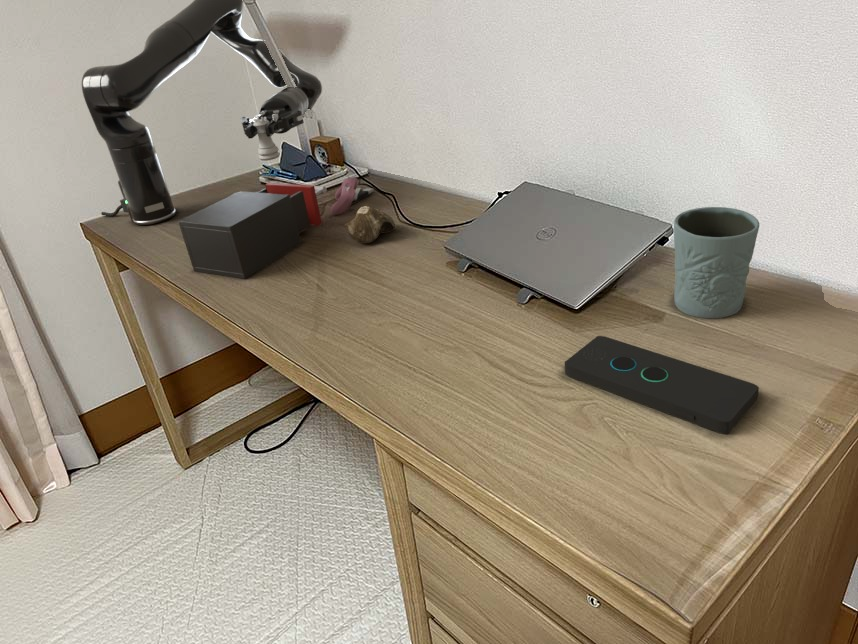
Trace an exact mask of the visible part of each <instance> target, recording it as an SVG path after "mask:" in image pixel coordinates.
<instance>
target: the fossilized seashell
mask: <svg viewBox="0 0 858 644" xmlns="http://www.w3.org/2000/svg"><path fill="white" fill-rule="evenodd" d="M396 226H397V225H396V222H395V221H394V218H393V217H392V216H391V215H389V214H387V213H385V212H384V211H381V209H380V208H379V207H376V208H374V207H371V206H369V205H365V206H361V207H360V208H358V210H357V212H356V214H355V217H354V218H353V219H352V220H350V221H348V222H347V223H345V224H344V228H346V230H347V232H348V234H349V236H350V237H351V238H352V239H353V240H354V241H356V242H358V243H361V244H370V243H372V242H374V241H375V240H376V239H377V238H378V237H379V235H380V234H385V233H390V232H393V231H394V230H395V229H396Z"/></svg>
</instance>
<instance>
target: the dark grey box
mask: <svg viewBox="0 0 858 644" xmlns="http://www.w3.org/2000/svg"><path fill="white" fill-rule="evenodd" d="M257 192H258V191H255V192H254V191H243V190H242V191H241V190H238V191H236V192H234V193H233V194H231V195H229V196H226V197H224V198H223V199H220V200H218V201H217V202H215V203H212V204H211V205H209V206H206V207H204V208H202V209H200V210H198V211H196V212H195V213H192V214H190V215H188V216H186V217H184V218H182V219H180V220H178V221H177V223H178V226H179V229H180V232H181V235H182V238H183V242H184V245H185V248H186V251H187V254H188V258H189V260H190V263H191V266H192V269H193V271H194V272H197V273H204V274H210V275H215V276H216V275H218V276H224V277H229V278H236V279H243V280H246V279H247V278H249V277H250V276H252V275H254V274H255V273H256V272H259V271H260V270H261V269H263V268H264V267H266V266H268V265H269V264H271V263H273V262H274V261H275V260H277V259H279V258H280V257H282V256H283V255H285V254H287V253H288V252H290V251H292V250H293V249H294V248H296V247H298V246H299V245H301V244H302V242H301V237H300V233H299V232H298V228H297V224H296V220H295V215H294V211H293V207H292V203H291V199H290V195H285V194H271V193H257Z"/></svg>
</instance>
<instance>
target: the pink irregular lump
mask: <svg viewBox="0 0 858 644" xmlns="http://www.w3.org/2000/svg"><path fill="white" fill-rule="evenodd" d="M358 182H359V179H358V178H356V177H355V176H354V177H353V176H347V178H345V179H344V180H343V181H342V183H341V185H340V186H339V187H338V188H337V190H336V191H335V193H334V197H335V199H336V200H335V202H334V203H333V204H332V205H331V207H330V214H332V215H333V216H338V215H341V214H343V213H344V212H345V211H346V210H350V209H351V206H352V204H351V203H352V202H353V200H354V199H355V201H356V200H357V195H356V196H355V190H356V188H358Z"/></svg>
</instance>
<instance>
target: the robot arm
mask: <svg viewBox="0 0 858 644" xmlns="http://www.w3.org/2000/svg"><path fill="white" fill-rule="evenodd" d="M243 10H244V0H243V1H242V0H193V1H192V2H191V3H190V4H188V5H187V6H186V7H185V8H183V9H181V11H179V12H178V13H177V14H175V15H174V16H172V17H171V18H170V19H168V20H167V21H165V22H164V23H162V24H161V25H159V26H158V27H156V28H155V29H154V30H153V31H151V32H150V34H149V35H148V36H147V38H146V40H145V43H144V48H143V50H142V51H141V53H139V54H137V55H135V56H134V57H133V58H131V59H130V60H127V61H125V62H123V63H119V64H113V65H111V64H110V65H101V66H93V67H90V68H88V69H87V70H86V71H85V72H84V73H83V76H82V78H81V92H82V95H83V99H84V103H85V105H86V107H87V109H88V112H89V114H90V116H91V119H92V121H93V124H94V126H95V129H96V131H97V133H98V135H99V136H100V137H101V138H102V140H103V141H104V142H105V144H106V147H107V150H108V152H109V155H110V158H111V161H112V163H113V166H114V169H115V172H116V175H117V178H118V181H117V184H118V187H119V189H120V192H121V195H122V199H119V202H120V205H118V206H117V207H116V208H115V211H113V212H107V211H102V212H101V216H106V217H114V216H116V215H118V214H119V213H120V210H123V213H128V215H129V218H130V220H131V222H132V223H133V224H134V225H137V226H149V225H155V224H159V223H162V222H165V221H167V220H170V219H171V218H173V217H175V216H176V214H177V211H176V208H175V207H174V203H173V200H172V197H171V193H170V190H169V187H168V184H167V181H166V178H165V174H164V171H163V169H162V166H161V163H160V160H159V156H158V152H157V150H156V146H155V144H154V141H153V138H152V135H151V131H150V129H149V128H148V127H147V126H146V125H145V124H143V123H141V122H139V121H137V120H135V119H134V118H133V117H132V116H131V115H130V113H129V112H131V111H135V110H136V109H138V108H139V107H141V106H142V105H143V104H144V102H146V101H147V100H148V98H149V97H151V95H152V94H153V93H154V92H155V90H156V89H158V87H160V85H161V84H162V83H164V82H165V81H166V80H168V79H169V78H170V77H171V76H173V75H174V74H175V73H177V72H178V71H179V70H180V69H182V68H183V67H185V66H186V65H187V64H188V63H190V62H191V61H192V60H193V59H195V58H196V56H197V55H198V54H199V53H200V52H201V50H202V49H203V47H204V45H205V44H206V42H207V40H208V38H209V37H210V35H211V33H212V34H213V35H214V36H215V37H217V38H218V40H220V41H222V42H223V43H224V44H226V45H227V46H229V47H230V48H231V49H233V51H235V52H237V53H238V54H239V55H242V57H244V58H245V59H246V60H247V61H249V62H250V63H251V64H252V65H253V66H254V67H255V68H256V69H257V70H258V71H259V72H260V73H261V74H262V75H263V76H264V77H265V78H266V80H268V82H269V83H270V84H271V85H272V86H274V87H276V88H283V89H282V90H280V91H279V92H276V93H274V94H273V95H271V96H270V97H269V98H268V99H266V100H265V101H264V102H263V103H262V105H261V107H260V110H259V113H258V114H256V115H254V116H253V118H252V119H250V117H247V116H242V117H240V121H241V125H242V128H243V133H244V135H246V137H247V139H248V140H249V139H254V137H256V136H258V133H256V131H257V128H256V127H255V126H254V125H253V124H254V119H256V118H259V120H260V119H261V117H266V118H267V120H268V121H269V123H267V124H266V125H265V131H266V135H267V137H269V136H271V137H272V136H273V135H274V134H277V135H278V134H279V135H281V134H285V133H287V132H289V131H290V130H291V129H294V128H296V127H298V126H300V125H303V124H304V123H305V121H304V117H305V115H304V114H305V112H306V111H307V109H310V110H311V111H312V109H313V107H314V106H315V104H316V102H317V101H318V100H319V98H320V96H321V95H322V92H323V85H322V82H321V80H320V79H319V78H318V77H317V76H316V75H314V74H313V73H311V72H308V71H306V70H305V69H303V68H301V67H300V66H298V65H296V64H295V63H293V62H292V60H290V59H289V58H288V57H287V55H286V54H285V53H283V52H282V51H281V50H280V52H281V54H282V57H283V59H284V61H285V64H286V66H287V68H288V70H289V72H290V74H291V76H292V78H293V80H294V82H295V84H296V86H297V87H295V88H294V87H289V86H287V85H286V84H285V82H284V80H283V78H282V76H281V74H280V72H279V70H278V68H277V66H276V65H275V62H274V60H273V59H272V57H271V55H270V53H269V50H268V48H267V46H266V44H265V43H264V41H265V40H264V39H257V38H252V37H250V36H249V35H247V33H246V32H245V31H244V30H243V28H242V27H241V23H242V18H243V17H242V16H243ZM263 40H264V41H263ZM293 80H292V81H293ZM286 86H287V87H286ZM284 87H285V88H284ZM305 118H306V117H305ZM256 121H257V119H256Z"/></svg>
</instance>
